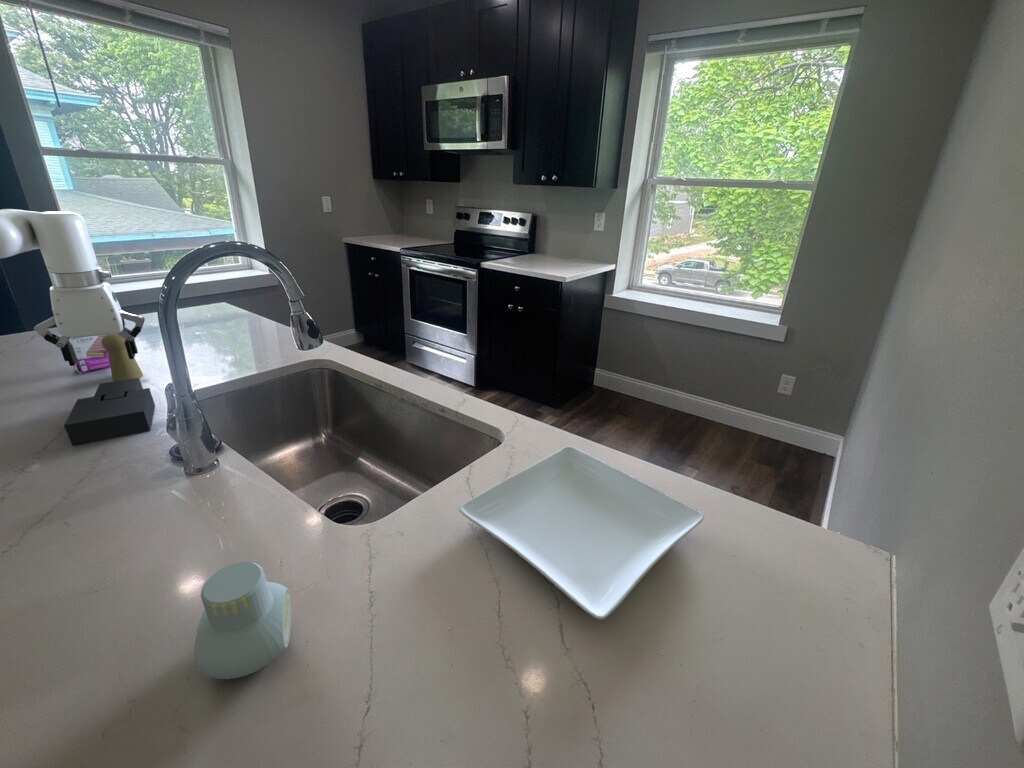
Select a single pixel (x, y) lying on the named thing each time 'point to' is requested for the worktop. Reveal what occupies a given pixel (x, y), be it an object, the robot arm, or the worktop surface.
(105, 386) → the pad
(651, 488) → the square plate
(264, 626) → the air freshener
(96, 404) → the notch pad
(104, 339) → the cork
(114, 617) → the worktop surface
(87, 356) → the candy bar box
